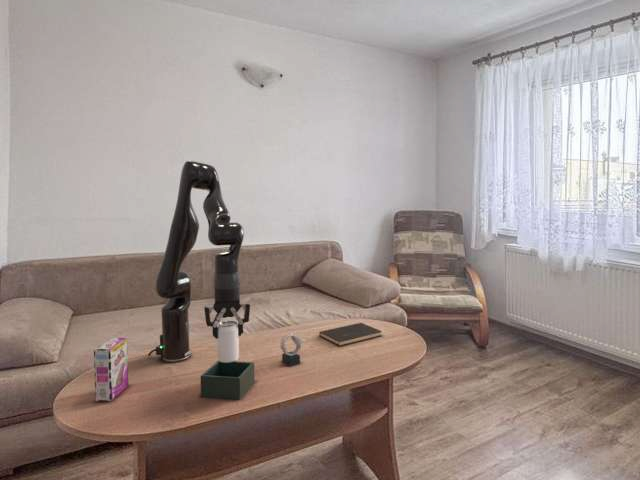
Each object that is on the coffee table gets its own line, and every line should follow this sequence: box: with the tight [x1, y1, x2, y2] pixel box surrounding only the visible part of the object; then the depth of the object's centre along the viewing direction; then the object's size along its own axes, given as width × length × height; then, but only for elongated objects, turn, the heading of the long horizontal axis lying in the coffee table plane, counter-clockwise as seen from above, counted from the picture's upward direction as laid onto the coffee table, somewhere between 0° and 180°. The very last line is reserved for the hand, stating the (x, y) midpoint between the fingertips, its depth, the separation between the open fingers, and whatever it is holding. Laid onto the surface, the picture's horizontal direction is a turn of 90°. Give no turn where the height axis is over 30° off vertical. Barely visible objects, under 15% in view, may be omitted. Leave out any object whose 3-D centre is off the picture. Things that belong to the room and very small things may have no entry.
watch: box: [280, 333, 303, 367], centre depth 164 cm, size 6×8×11 cm
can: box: [216, 320, 240, 363], centre depth 141 cm, size 6×6×12 cm
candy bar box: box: [93, 337, 129, 402], centre depth 136 cm, size 11×5×16 cm, turn 5°
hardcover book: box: [318, 322, 383, 347], centre depth 196 cm, size 16×23×2 cm
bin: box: [200, 359, 255, 400], centre depth 142 cm, size 13×13×7 cm
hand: (227, 336), depth 140 cm, fingers closed on can, 6 cm apart
